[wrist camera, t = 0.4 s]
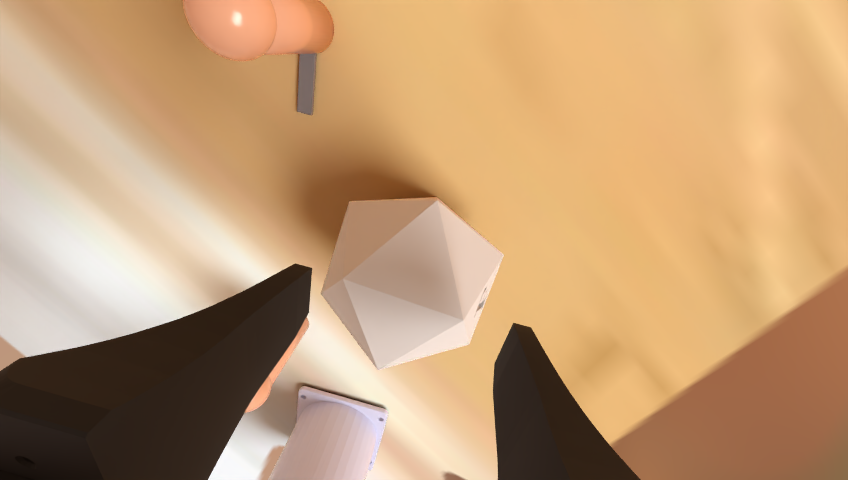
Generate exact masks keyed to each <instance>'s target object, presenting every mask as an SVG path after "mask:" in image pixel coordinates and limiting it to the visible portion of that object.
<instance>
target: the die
mask: <svg viewBox="0 0 848 480" xmlns="http://www.w3.org/2000/svg"><path fill="white" fill-rule="evenodd" d="M503 256H504V254H502V253H501V252H500V251H499V250H498V249H497V248H495V247H494V246H493V245H492V244H491V243H490V242H488V241H487V240H486V239H485V238H484V237H483V236H482V235H480V234H479V233H478V232H477V231H476V230H475V229H473V228H472V227H471V226H470V225H469V224H468V223H467V222H465V221H464V220H463V219H462V218H461V217H460V216H458V215H457V214H456V213H455V212H454V211H453V210H452V209H450V208H449V207H448V206H447V205H446V204H445V203H443V202H442V201H441V200H440V199H439V198H438V197H427V198H406V199H384V200H363V201H349V204H348V207H347V210H346V214H345V217H344V220H343V223H342V227H341V230H340V233H339V236H338V239H337V243H336V246H335V249H334V252H333V256H332V259H331V262H330V265H329V268H328V272H327V275H326V278H325V281H324V285H323V288H322V291H321V295H322V296H323V297H324V299H325V300H326V301H327V303H328V304H329V305H330V307H331V308H332V309H333V311H334V312H335V313H336V315H337V316H338V317H339V319H340V320H341V321H342V323H343V324H344V325H345V327H346V328H347V329H348V331H349V332H350V333H351V335H352V336H353V337H354V339H355V340H356V341H357V343H358V344H359V345H360V347H361V348H362V349H363V351H364V352H365V353H366V355H367V356H368V357H369V359H370V360H371V361H372V363H373V364H374V365H375V367H376V368H377V369H378V370H380V369H384V368H387V367H391V366H395V365H398V364H402V363H405V362H409V361H412V360H416V359H419V358H423V357H426V356H430V355H433V354H437V353H440V352H444V351H447V350H451V349H454V348H458V347H461V346H465V345H469V343H470V341H471V338H472V336H473V333H474V330H475V328H476V325H477V323H478V320H479V318H480V315H481V312H482V310H483V307H484V305H485V302H486V300H487V297H488V294H489V292H490V289H491V287H492V284H493V281H494V279H495V276H496V274H497V271H498V269H499V266H500V263H501V261H502V258H503Z"/></svg>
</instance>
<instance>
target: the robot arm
mask: <svg viewBox="0 0 848 480" xmlns="http://www.w3.org/2000/svg"><path fill="white" fill-rule="evenodd" d="M311 275H312V268H310V267H306V266H302V265H299V264H294V265H292V266H290V267H288V268H286V269H284V270H282V271H280V272H279V273H277V274H275V275H273V276H271V277H269V278H268V279H266V280H264V281H262V282H260V283H258V284H256V285H254V286H252V287H251V288H249V289H247V290H245V291H243V292H241V293H239V294H236V295H234V296H232V297H230V298H228V299H226V300H224V301H222V302H219V303H217V304H215V305H213V306H210V307H208V308H206V309H203V310H201V311H198V312H196V313H193V314H191V315H188V316H185V317H183V318H180V319H177V320H174V321H171V322H168V323H165V324H162V325H159V326H156V327H152V328H149V329H146V330H143V331H140V332H137V333H133V334H130V335H126V336H122V337H118V338H115V339H111V340H107V341H103V342H99V343H94V344H90V345H86V346H81V347H77V348H72V349H67V350H62V351H57V352H52V353H47V354H42V355H36V356H31V357H25V358H20V359H18V360H17V361H15V362H13V363H12V364H10V365H9V366H8V367H6V368H4V369H3V370H1V371H0V480H208V478H209V476H210V474H211V472H212V471H213V469H214V467H215V465H216V463H217V461H218V459H219V457H220V456H221V454H222V452H223V450H224V448H225V446H226V445H227V443H228V441H229V439H230V437H231V435H232V434H233V432H234V430H235V428H236V427H237V425H238V423H239V421H240V420H241V418H242V416H243V414H244V413H245V411H246V409H247V407H248V406H249V404H250V402H251V401H252V399H253V398H254V396H255V395H256V393H257V392H258V390H259V389H260V387H261V386H262V384H263V383H264V382H265V380H266V379H267V377H268V376H269V375H270V373H271V372H272V370H273V369H274V367H275V366H276V365H277V363H278V362H279V360H280V359H281V358H282V356H283V355H284V353H285V352H286V350H287V349H288V348H289V346H290V345H291V343H292V342H293V340H294V339H295V337H296V336H297V334H298V332H299V330H300V328H301V326H302V325H303V323H304V321H305V319H306V317H307V315H308V313H309V302H310V288H311ZM493 399H494V415H495V429H496V443H497V457H498V480H640V479H639V478H638V477H637V475H636V474H635V473H634V472H633V471H632V470H631V469H630V468H629V467H628V466H627V464H626V463H625V462H624V461H623V460H622V459H621V458H620V457H619V455H617V453H616V452H615V451H614V450H613V449H612V447H611V446H610V445H609V444H608V443H607V441H606V440H605V439H604V438H603V437H602V435H601V434H600V433H599V431H598V430H597V429H596V428H595V426H594V425H593V424H592V423H591V421H590V420H589V419H588V417H587V416H586V415H585V413H584V412H583V411H582V409H581V408H580V406H579V405H578V403H577V402H576V401H575V399H574V398H573V396H572V395H571V393H570V392H569V390H568V389H567V387H566V386H565V384H564V383H563V381H562V380H561V378H560V376H559V375H558V373H557V372H556V370H555V368H554V367H553V365H552V363H551V362H550V360H549V358H548V356H547V355H546V353H545V351H544V350H543V348H542V346H541V344H540V343H539V341H538V339H537V337H536V335H535V334H534V332H533V330H532V329H531V327H527V326H523V325H520V324H516V323H513V325H512V327H511V329H510V331H509V334H508V336H507V338H506V340H505V342H504V344H503V347H502V349H501V351H500V353H499V355H498V357H497V360H496V362H495V366H494V382H493ZM387 417H388V411H387V410H386V409H383V408H380V407H376V406H373V405H369V404H366V403H362V402H359V401H355V400H352V399H348V398H345V397H342V396H338V395H335V394H331V393H328V392H324V391H321V390H317V389H314V388H310V387H307V386H302V387H301V388H300V389H299V393H298V406H297V419H296V425H295V427H294V429H293V431H292V433H291V435H290V437H289V439H288V441H287V443H286V445H285V447H284V450H283V451H282V453H281V456H280V457H279V459H278V461H277V463H276V465H275V467H274V469H273V471H272V473H271V475H270V477H269V479H268V480H365V479H366V475H367V472H368V470H372V469H373V465H374V462H375V458H376V455H377V452H378V448H379V445H380V441H381V438H382V434H383V431H384V427H385V424H386V420H387Z"/></svg>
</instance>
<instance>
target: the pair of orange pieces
mask: <svg viewBox="0 0 848 480" xmlns="http://www.w3.org/2000/svg"><path fill="white" fill-rule="evenodd" d="M183 8H184V13H185V16H186V19H187V21H188V24H189V26H190V27H191V29H192V31H193V32H194V34H195V35H196V37H197V38H198V39H199V40H200V41H201V42H202V43H203V44H204V45H205V46H206V47H207V48H208V49H210V50H211V51H213V52H214V53H216V54H217V55H219V56H221V57H224V58H227V59H230V60H234V61H250V60H254V59H256V58H258V57H260V56H262V55H272V54H300V58H299V81H298V104H297V112H301V113H304V114H308V115H313V102H314V87H315V72H316V56H317V53H321V52H323V51H324V50H326V49H327V48H328V47H329V45H330V44H331V42H332V39H333V35H334V24H333V20H332V17H331V14H330V12H329V11H328V9H327V8H326V7H325V5H324V4H323V3H321V2H320V1H319V0H183ZM308 327H309V322H308V319H307V318H306V319H305V321H304V323H303V325H302V326H301V328H300V330H299V332H298V334H297V336H296V337H295V339H294V340H293V342H292V343H291V345H290V346H289V348H288V349H287V350H286V352H285V353H284V355H283V356H282V358H281V359H280V360H279V362H278V363H277V365H276V366H275V367H274V369H273V370H272V372H271V373H270V375H269V376H268V377H267V379H266V380H265V382H264V383H263V384H262V386H261V387H260V389H259V390H258V392H257V393H256V395H255V396H254V398H253V399H252V401H251V402H250V404H249V406H248V407H247V409H246V411H245V413H247V412H251V411H253V410H255V409H257V408H259V407H260V406H261V405H262V404H263V403H264V402H265V401H266V400H267V398H268V396H269V394H270V392H271V387H272V384H273V383H274V381H275V379H276V378H277V376H278V375H279V373H280V372H281V370H282V368H283V367H284V365H285V364H286V362H287V361H288V359H289V357H290V356H291V354H292V353H293V351H294V349H295V348H296V346H297V345H298V343H299V342H300V340H301V338H302V337H303V335H304V334H305V332H306V330H307V329H308Z"/></svg>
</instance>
